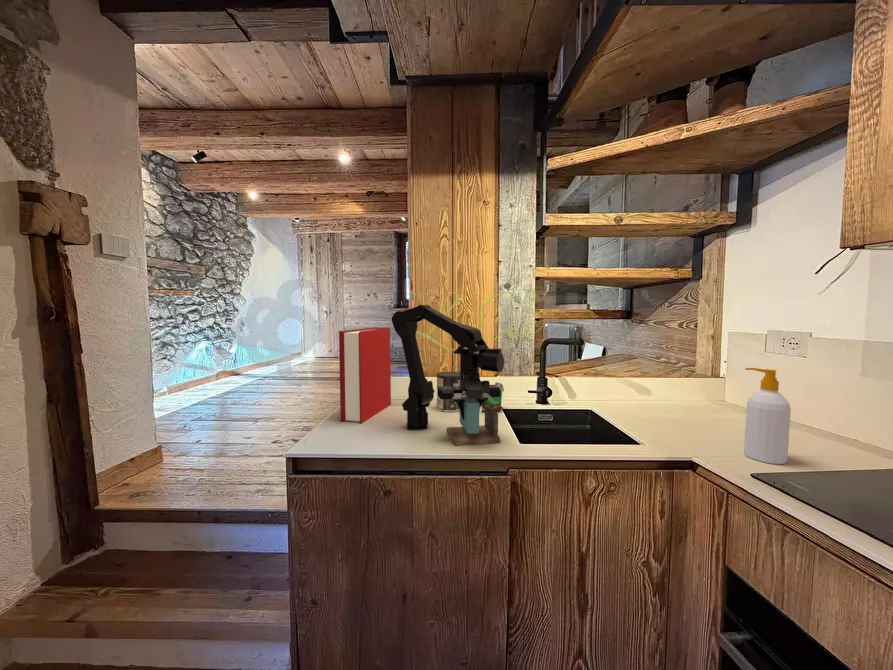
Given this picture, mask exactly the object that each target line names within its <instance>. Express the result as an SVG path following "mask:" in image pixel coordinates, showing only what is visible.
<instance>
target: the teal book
mask: <svg viewBox="0 0 893 670" xmlns="http://www.w3.org/2000/svg"><path fill="white" fill-rule="evenodd" d="M462 399H463V410H464V420H462V418H461V415H460V414H459V424H460V425H461V427H463V428H464V429H465V431H466V432H467V434H472V433H479V426H480V410H479V402H478V401H477V400H476V399H475V398H472V399H468V398H467V397H466V395H462Z"/></svg>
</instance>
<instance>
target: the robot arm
mask: <svg viewBox="0 0 893 670" xmlns="http://www.w3.org/2000/svg"><path fill="white" fill-rule="evenodd" d="M423 320H425V321H427V322H429V323H430V324H432V325H434V326H435V327H437V328H438V329H440V330H442V331H443V332H445V333H447V334H448V335H450V336H451V339H452V340H453V341H454V342H455V343H456V344H458V345H459V346H458V347H457V348H456V349H455V350H454V351H453V354H454V355H455V354H456V355H459V360H460V361H459V373H460V389H453V388H452V387H451V386H440V387H439V388H438V396H439V398H440V399H452V400H453V401H455V402H456V404H457V406H458V409H459V411H458V412H459V416H460V415H461V418H462V420H464V410H463V399H462V395H466V397H467V398H468V399H472V398H475V399H476V400H477V401H478V402H479V411H480V410H481V408H482V403H483V402H484V401H485V400H488V398H487V394H489V395H490V396H491V397H501V389H500V388H499V387H497V386H496V385H495V384H491V383H490V381H489V380H481V378H480V377H481V376H480V371H479V370H481V371H485V372H494V373H501V372H503V370H504V366H505V358H504V354H503V352H502V348H499V347H497V348H489V346H488V345H487V343H486V341H485V340H484V338H483V336H482V331H481V330H480V329H479V328H477V327H474V326H471V325H469V324H464V323H460V322H457V321H456V320H454V319H452V318H451V317H449V316H447V315H446V314H444V313H442V312H440V311H439V310H437V309H434V308H433V307H431V306H430V305H429V304H419V305H417V306H415V307H411V308H409V309H405V310H397V311H395V312H394V313H393V314H392V317H391V323H392V326H393V329H394V331H395V332H396V334H397V335H398V336H399V338H400V339H401V344H402V348H403V353H404V358H405V363H406V366H407V367H406V368H407V371H408V376H409V384H408V387H407V388H408V389H407V394H408V395H407V396H408V398H407V397H406V399H405V401H404V402H402V404H401V407H402V409H403V411H405V412H406V428H407V430H426V429H428V426H429V412H428V411H427V407H430V405H431V402H432V401H433V399H434V396H435V394H434V393H436V391H435V389H434V384H433V380H430V381H429V380H428V379H427V378H426V377H425V373H424V369H423V363H422V359H421V354H420V350H419V345H418V342H417V336H416V334H417V330H418V322H421V321H423Z"/></svg>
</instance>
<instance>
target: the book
mask: <svg viewBox="0 0 893 670" xmlns="http://www.w3.org/2000/svg"><path fill="white" fill-rule="evenodd" d="M338 341H339V342H338V347H339V349H338V352H339V353H338V354H339V405H340V408H339V409H340V411H339V412H340V423H342V422H345V421H347V422H348V421H349V422H359V423H360V424H364V423H365V422H367V421H368V420H370V419H371V418H373V417H374V416H376V415H377V414H379V413H380V412H382V411H384V410H385V409H387V408H388V407H390V406H391V405H392V390H391V389H392V384H391V383H392V382H391V381H392V378H391V377H392V376H391V375H392V374H391V373H392V372H391V369H392V368H391V367H392V366H391V362H392V360H391V327H377V326H376V327H366V328H365V327H364V328H354V329H346V330H338Z"/></svg>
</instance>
